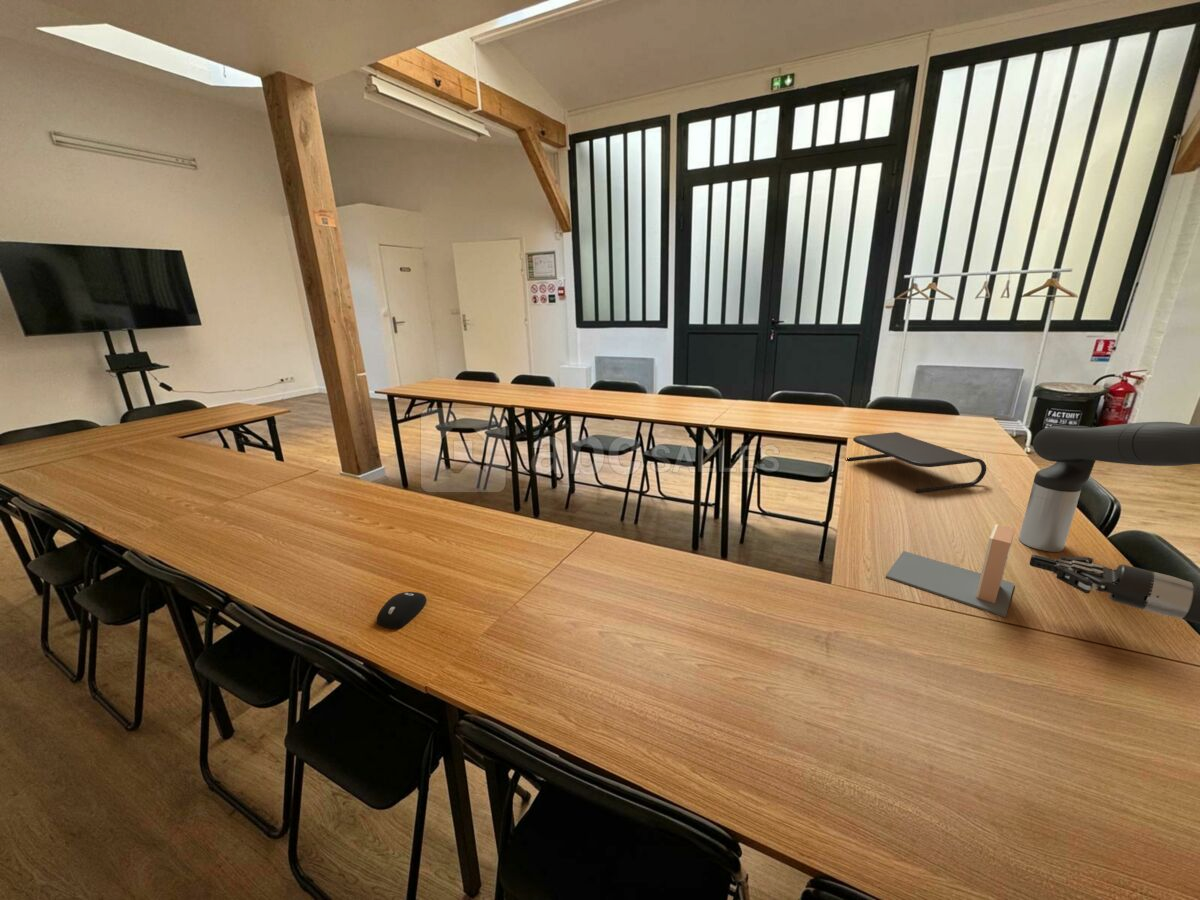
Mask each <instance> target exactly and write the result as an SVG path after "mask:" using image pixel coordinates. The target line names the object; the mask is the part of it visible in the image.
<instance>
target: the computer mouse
mask: <svg viewBox="0 0 1200 900" xmlns="http://www.w3.org/2000/svg"><path fill="white" fill-rule="evenodd" d="M426 603H427V597H426V595H425V594H423V593H420V592H415V591H405V592H400V593H396V594H395V595H393V596H392V597H390V598H389V599H388V600H387V601H386V602H385V603H384V605H383V606H382V607H381V609H380V610H379V611H378V614H377V615H376V616H377V617H376V624H377V625H378V626H380V627H384V628H387V629H393V630H399V629H401V628H404V626H405V625H407V624H408V623H410V622H411V620H413V619H414V618H415V617H416V616H417V615H418V614H419V613H420V612H421V611H422V610H423V608H424V607H425V606H426Z"/></svg>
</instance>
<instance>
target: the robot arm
mask: <svg viewBox="0 0 1200 900" xmlns="http://www.w3.org/2000/svg"><path fill="white" fill-rule="evenodd" d="M1032 447H1033V450H1034V452H1035V453H1036V454H1037V455H1038V457H1040V458H1041V459H1043V460H1046V461H1049V462H1055V463H1054V464H1052V465H1050V466H1049V467H1046V468H1042V469H1040V470H1038V471H1037V472H1036V473H1035V474H1034V479H1033V482H1032V486H1031V489H1030V494H1029V497H1028V501H1027V505H1026V509H1025V513H1024V517H1023V520H1022V523H1021V528H1020V532H1019V535H1018V540H1019V542H1020V543H1022V545H1025V546H1027V547H1030V548H1033V549H1035V550H1040V551H1044V552H1051V553H1052V552H1053V553H1056V552H1057V553H1058V552H1062V551H1064V550H1065V545H1066V543H1067V539H1068V537H1069V533H1070V529H1071V526H1072V522H1073V519H1074V516H1075V512H1076V509H1077V506H1078V502H1079V500H1080V499H1079V498H1080V494H1081V492H1082V489H1083V486H1084V484H1085V483H1086V482H1087V481H1088V480H1089V478H1090V476H1091V474H1092V471H1093V468H1094V466H1095V463H1096V461H1098V462H1106V463H1113V464H1123V465H1134V466H1152V467H1177V466H1188V465H1190V466H1191V465H1200V425H1198V424H1189V423H1184V422H1183V423H1182V422H1176V421H1175V422H1174V421H1145V422H1144V421H1142V422H1132V423H1119V424H1112V425H1104V426H1097V427H1091V426H1088V425H1087V426H1086V425H1054V426H1048V427H1045V428H1043V429H1042V430H1039V431H1038V432H1037V434H1035V436H1034V438H1033V441H1032ZM1093 562H1094V559H1093V558H1091V557H1089V556H1060V558H1056V559H1053V558H1049V557H1046V556H1041V555H1039V554H1038V555H1037V554H1032V555H1031V557H1030V560H1029V565H1030V566H1031V567H1033V568H1037V569H1040V570H1043V571H1044V570H1045V571H1049V572H1052V574H1053V575H1056V577H1055V578H1056V579H1057V580H1060V581H1062V582H1063V583H1065V584H1067V585H1068V586H1069V585H1070V586H1071V587H1072V588H1075V589H1076V590H1078V591H1081V593H1084V594H1090V593H1091V590H1094V591H1095V590H1096V591H1098V592H1100V593H1101V592H1102V593H1109V599H1110V600H1111V601H1113V602H1115V603H1118V604H1122V605H1126V606H1130V607H1133V608H1137V609H1140V610H1144V611H1148V612H1150V613H1155V614H1158V615H1161V616H1167V617H1171V618H1175V619H1176V618H1177V619H1182V620H1184V621H1188V622H1192V623H1195V624H1199V625H1200V584H1198V583H1195V582H1191V581H1187V580H1185V579H1181V578H1179V577H1175V576H1172V575H1169V574H1163V573H1160V572H1157V571H1153V570H1147V569H1143V568H1140V567H1135V566H1131V565H1127V564H1120V565H1119V564H1118V566H1117V567H1116V569H1113V568H1109V567H1106V566H1104V565H1101V564H1097V563H1093Z"/></svg>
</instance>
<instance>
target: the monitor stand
mask: <svg viewBox="0 0 1200 900" xmlns="http://www.w3.org/2000/svg"><path fill="white" fill-rule="evenodd" d="M852 440H853V442H854V443H856V444H859V445H860V446H863V447H867V448H869V449H871V450H874V451H876V452H878V453H879V454H872V455H871V454H869V455H860V456H853V457H850V456H849V457H845V458H844V461H846V462H851V461H859V460H861V461H862V460H869V459H881V458H889V457H890V458H891V457H892V458H895V459H897V460H899V461H901V462H905V463H907V464H909V465H911V466H917V467H922V468H937V467H944V466H953V465H961V464H970V463H979V465H980V472H979V475H978V476H977V477H976V478H975V479H974V480H972V481H970V482H963V483H962V482H961V483H955V484H945V485H940V486H930V487H922V488H915V489H914V493H916V494H919V493H930V492H936V491H943V490H951V489H960V488H967V487H973V486H976V485H977V484H979V483H980V482H981V481H982V479H984V478H985V475H986V473H987V464H986V463H985V461H984V460H982V459H981V458H978V457H977V458H976V457H973V456H970V455H966V454H963V453H960V452H957V451H954V450H951V449H948V448H946V447H943V446H940V445H936V444H934V443H930V442H927V441H924V440H922V439H919V438H914V437H912V436H909V435H906V434H902V433H901V432H897V431H896V432H895V431H894V432H893V431H892V432H884V433H883V432H882V433H874V434H863V435H857V436H854V437H853V439H852ZM846 458H847V460H846ZM848 458H849V459H848Z"/></svg>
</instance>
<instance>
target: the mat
mask: <svg viewBox="0 0 1200 900" xmlns="http://www.w3.org/2000/svg"><path fill="white" fill-rule="evenodd" d="M980 576H981V572H978V571H973V570H972V569H971V570H970V569H966V568H964V567H960V566H956V565H953V564H950V563H947V562H943V561H940V560H936V559H933V558H929V557H925V556H922V555H920V554H916V553H912V552H910V551H905V550H902V552H901V554H900V555H899V556H898V557H897V558H896V560H895V562H894V563H893V565H892V566H891V568H890V569H889V570H888V572H887V573H886V574H885V578H887V579H889V580H893V581H896V582H898V583H902V584H904V585H908V586H911V587H914V588H916V589H920V590H922V591H926V592H929V593H932V594H935V595H938V596H941V597H943V598H947V599H950V600H952V601H956V602H958V603H962V604H965V605H968V606H969V607H974V608H977V609H979V610H983V611H986V612H988V613H991V614H995V615H999V616H1001V617H1004V618H1006V616H1007V612H1008V609H1009V605H1010V602H1011V598H1012V594H1013V590H1014V588H1015V587H1014V586H1015V583H1014V582H1011V581H1009V580H1008V581H1007V580H1004V579H1002V582H1001V586H1000V589H999V592H998V595H997V599H996V602H995V603H992V602H989V601H986V600H983V599H979V598H976V597H975V596H976V592H977V588H978V584H979V580H980Z"/></svg>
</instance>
